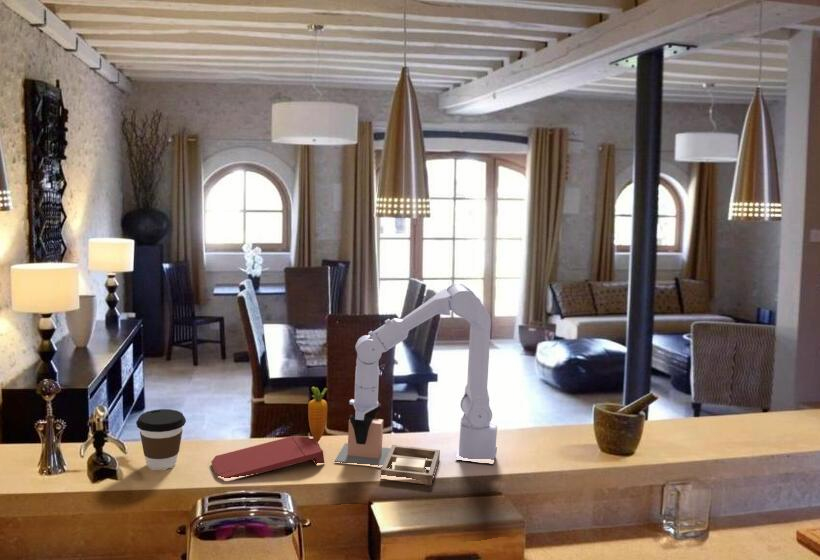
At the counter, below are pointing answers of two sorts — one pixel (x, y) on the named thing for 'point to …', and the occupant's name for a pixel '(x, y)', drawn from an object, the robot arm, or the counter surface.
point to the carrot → (317, 414)
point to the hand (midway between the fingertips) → (364, 437)
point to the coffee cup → (161, 437)
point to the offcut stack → (409, 464)
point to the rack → (412, 453)
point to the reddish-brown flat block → (267, 457)
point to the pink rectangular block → (367, 441)
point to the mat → (347, 458)
